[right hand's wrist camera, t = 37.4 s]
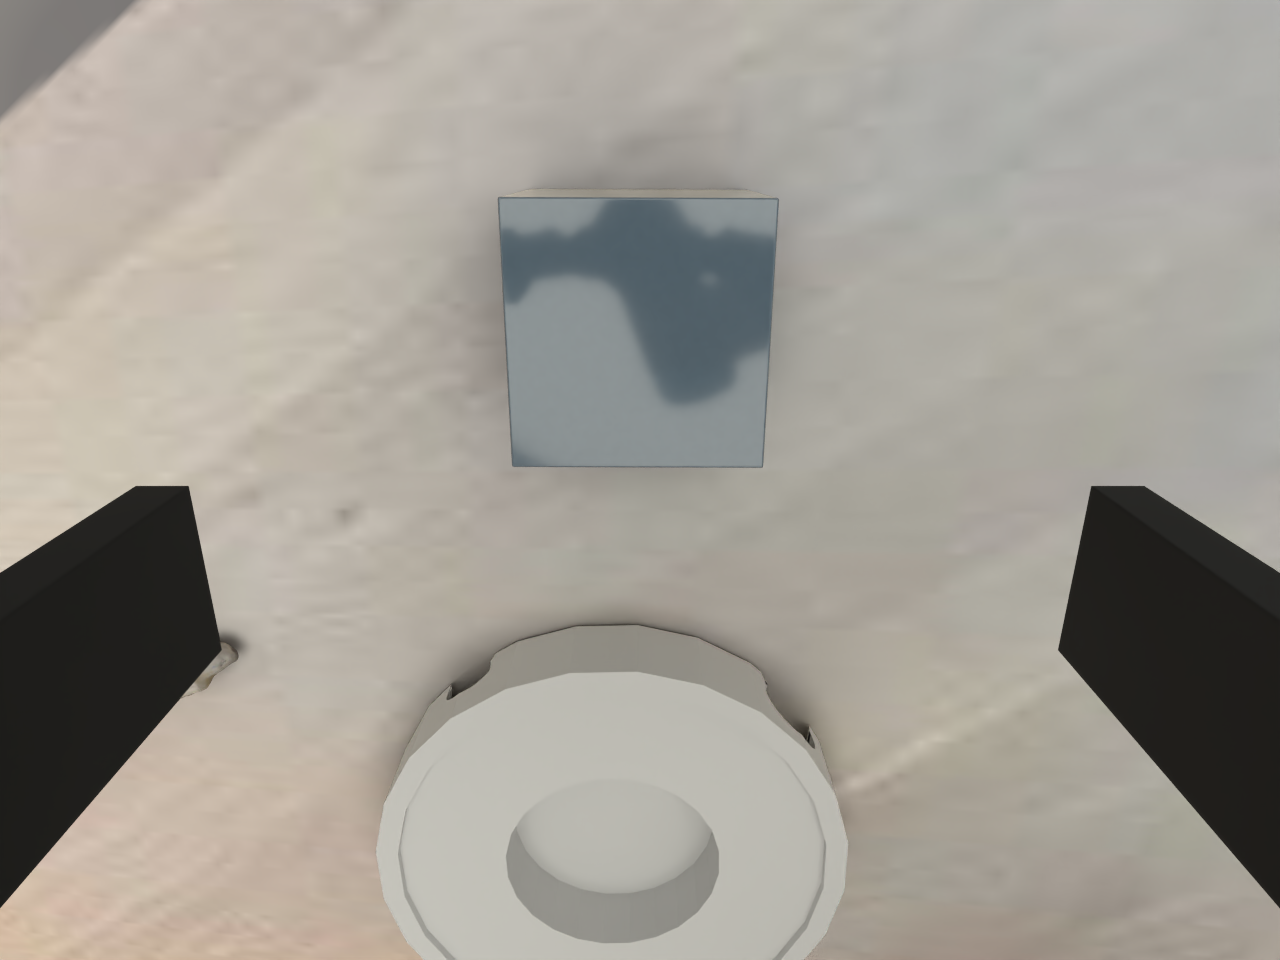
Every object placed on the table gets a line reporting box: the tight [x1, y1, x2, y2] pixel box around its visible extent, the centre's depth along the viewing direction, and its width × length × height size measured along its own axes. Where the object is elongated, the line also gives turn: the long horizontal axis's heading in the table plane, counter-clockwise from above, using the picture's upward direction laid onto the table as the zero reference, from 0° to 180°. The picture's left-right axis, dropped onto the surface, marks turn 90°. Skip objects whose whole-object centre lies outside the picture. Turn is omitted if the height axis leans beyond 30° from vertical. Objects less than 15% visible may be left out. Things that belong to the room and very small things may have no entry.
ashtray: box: [376, 625, 848, 960], centre depth 43 cm, size 23×23×4 cm
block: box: [498, 189, 779, 468], centre depth 32 cm, size 9×9×8 cm
